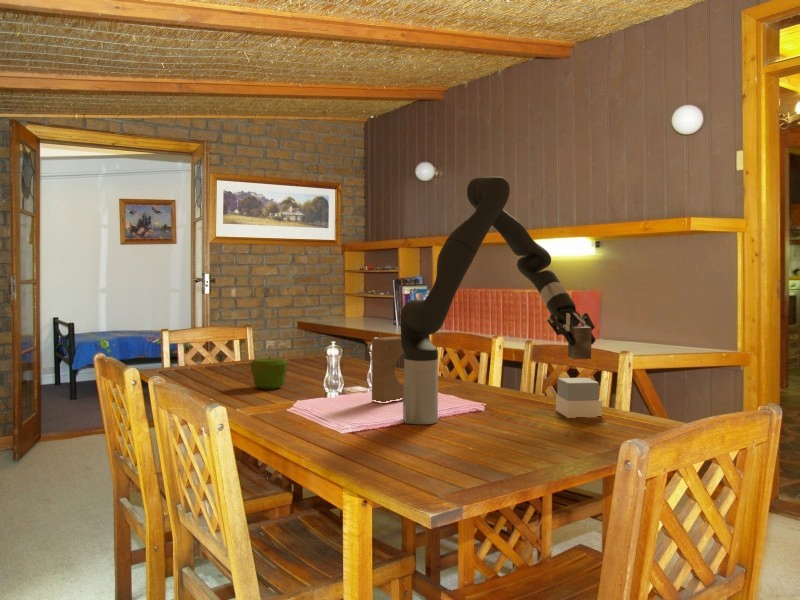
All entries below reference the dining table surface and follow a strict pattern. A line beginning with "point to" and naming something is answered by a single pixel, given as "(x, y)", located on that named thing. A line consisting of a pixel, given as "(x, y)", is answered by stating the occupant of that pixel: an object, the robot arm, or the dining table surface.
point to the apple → (269, 372)
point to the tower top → (578, 389)
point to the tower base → (578, 408)
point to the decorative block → (386, 369)
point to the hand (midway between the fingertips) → (583, 343)
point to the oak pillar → (580, 342)
